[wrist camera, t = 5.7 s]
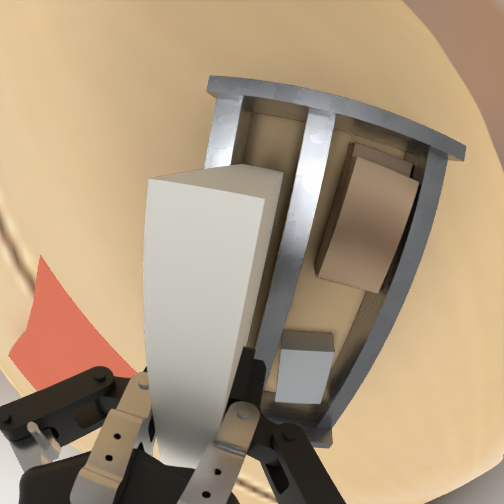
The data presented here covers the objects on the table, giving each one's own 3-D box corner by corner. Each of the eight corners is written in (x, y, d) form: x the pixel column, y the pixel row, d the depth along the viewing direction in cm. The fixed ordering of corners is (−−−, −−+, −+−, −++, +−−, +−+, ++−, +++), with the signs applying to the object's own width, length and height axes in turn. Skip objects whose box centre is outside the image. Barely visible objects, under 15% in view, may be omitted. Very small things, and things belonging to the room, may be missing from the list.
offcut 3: (350, 157, 17) (357, 156, 15) (407, 179, 16) (419, 182, 15) (315, 265, 19) (318, 276, 18) (370, 281, 19) (377, 293, 17)
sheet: (85, 417, 38) (4, 322, 34) (181, 368, 32) (60, 221, 28) (73, 434, 33) (-13, 334, 29) (168, 396, 27) (31, 230, 23)
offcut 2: (348, 144, 19) (355, 142, 16) (400, 163, 18) (412, 164, 16) (313, 264, 22) (315, 277, 20) (363, 278, 22) (370, 291, 19)
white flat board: (242, 163, 16) (148, 178, 5) (284, 171, 15) (264, 198, 5) (208, 381, 22) (167, 486, 12) (236, 388, 22) (204, 498, 12)
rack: (232, 97, 18) (209, 75, 13) (425, 147, 17) (466, 146, 11) (194, 379, 28) (176, 418, 22) (326, 406, 27) (328, 448, 21)
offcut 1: (282, 328, 24) (281, 348, 21) (331, 331, 24) (334, 351, 21) (277, 380, 27) (274, 401, 24) (319, 383, 26) (320, 404, 23)
